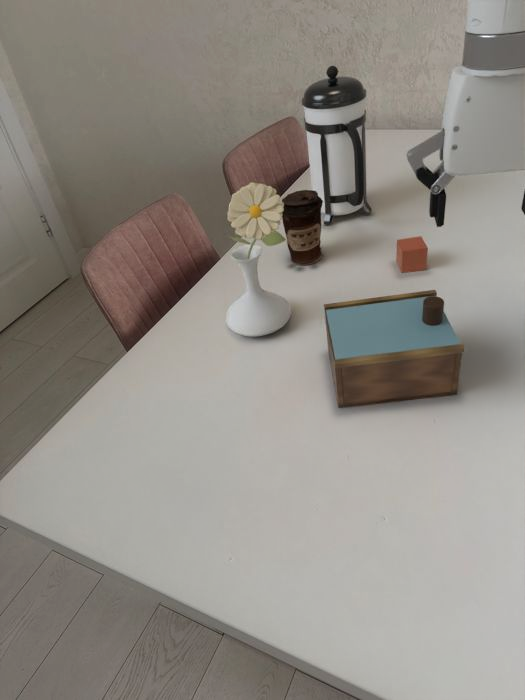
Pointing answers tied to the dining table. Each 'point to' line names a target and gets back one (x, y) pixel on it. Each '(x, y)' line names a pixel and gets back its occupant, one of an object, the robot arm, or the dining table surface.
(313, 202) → the coffee cup
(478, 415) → the dining table surface
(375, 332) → the sliding box lid
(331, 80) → the coffee press
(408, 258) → the block
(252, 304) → the flower in vase
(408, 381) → the wooden box
